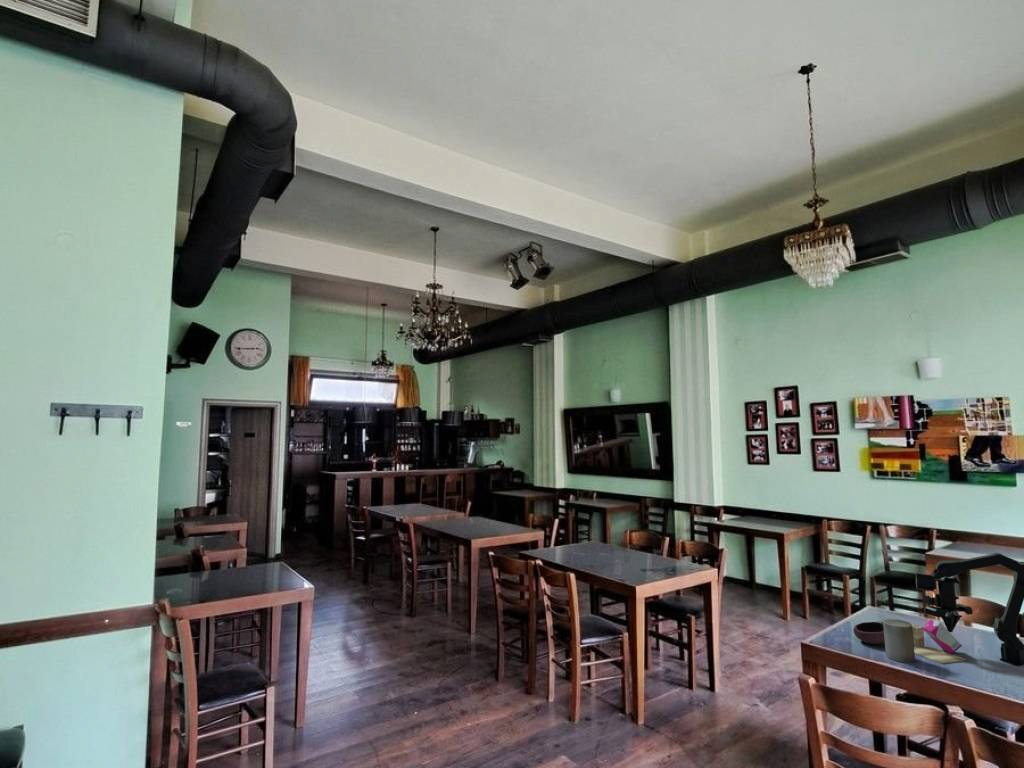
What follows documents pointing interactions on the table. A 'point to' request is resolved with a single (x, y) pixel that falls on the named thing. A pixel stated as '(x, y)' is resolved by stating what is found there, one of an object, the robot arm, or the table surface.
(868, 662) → the table surface
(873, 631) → the bowl
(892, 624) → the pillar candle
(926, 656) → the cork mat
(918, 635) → the beech block
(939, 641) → the supplement box
